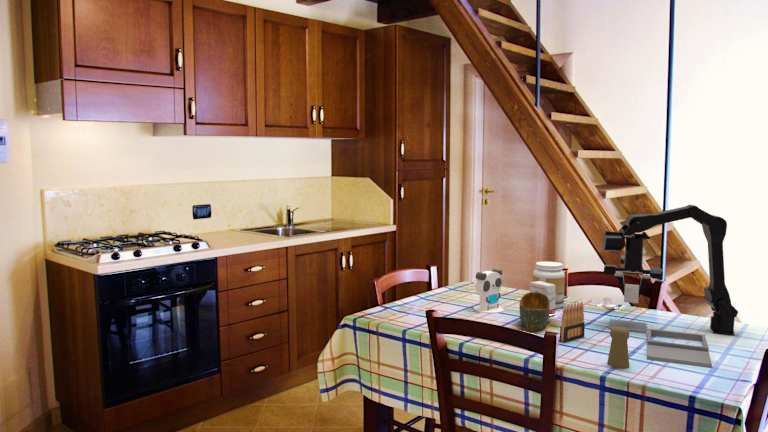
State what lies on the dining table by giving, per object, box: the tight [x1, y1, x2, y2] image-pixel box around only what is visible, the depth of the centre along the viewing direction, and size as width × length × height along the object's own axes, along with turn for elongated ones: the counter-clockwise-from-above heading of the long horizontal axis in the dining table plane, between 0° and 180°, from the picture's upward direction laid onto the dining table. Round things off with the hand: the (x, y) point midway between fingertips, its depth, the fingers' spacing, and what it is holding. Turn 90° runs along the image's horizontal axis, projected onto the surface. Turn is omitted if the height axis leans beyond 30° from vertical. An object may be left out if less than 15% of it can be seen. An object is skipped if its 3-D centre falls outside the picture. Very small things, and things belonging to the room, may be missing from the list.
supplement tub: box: [532, 261, 566, 310], centre depth 247 cm, size 12×12×17 cm
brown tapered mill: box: [606, 327, 630, 370], centre depth 179 cm, size 6×6×11 cm
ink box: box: [529, 281, 556, 314], centre depth 234 cm, size 9×5×12 cm, turn 33°
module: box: [623, 283, 640, 304], centre depth 217 cm, size 4×7×5 cm, turn 157°
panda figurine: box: [473, 268, 505, 314], centre depth 240 cm, size 12×11×15 cm
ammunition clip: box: [559, 301, 586, 344], centre depth 203 cm, size 11×2×12 cm, turn 127°
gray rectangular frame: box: [646, 328, 713, 368], centre depth 194 cm, size 17×28×2 cm, turn 157°
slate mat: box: [608, 318, 647, 334], centre depth 219 cm, size 12×12×1 cm
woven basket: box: [519, 291, 550, 332], centre depth 219 cm, size 13×20×10 cm, turn 136°
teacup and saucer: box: [596, 296, 619, 310], centre depth 247 cm, size 9×8×4 cm
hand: (631, 296), depth 217 cm, fingers closed on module, 4 cm apart
